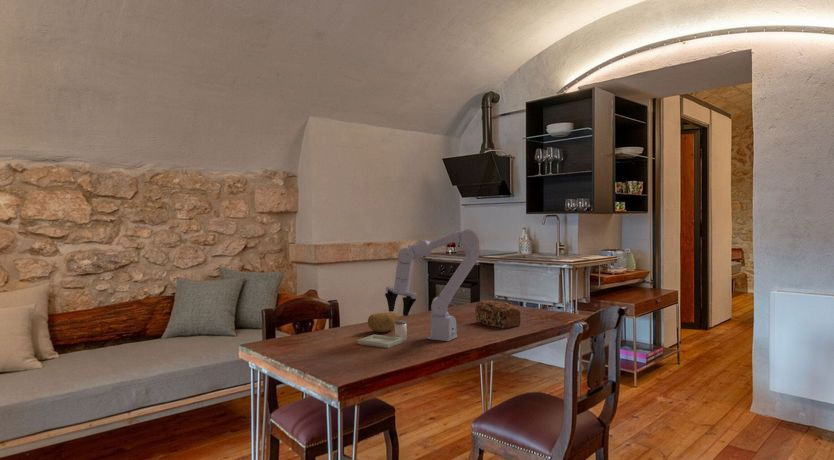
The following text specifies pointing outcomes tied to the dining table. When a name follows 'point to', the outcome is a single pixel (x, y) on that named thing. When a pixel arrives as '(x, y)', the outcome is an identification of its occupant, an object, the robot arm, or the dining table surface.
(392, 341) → the tray
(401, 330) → the shaker
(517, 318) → the bread
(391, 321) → the potato
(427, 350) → the dining table surface
